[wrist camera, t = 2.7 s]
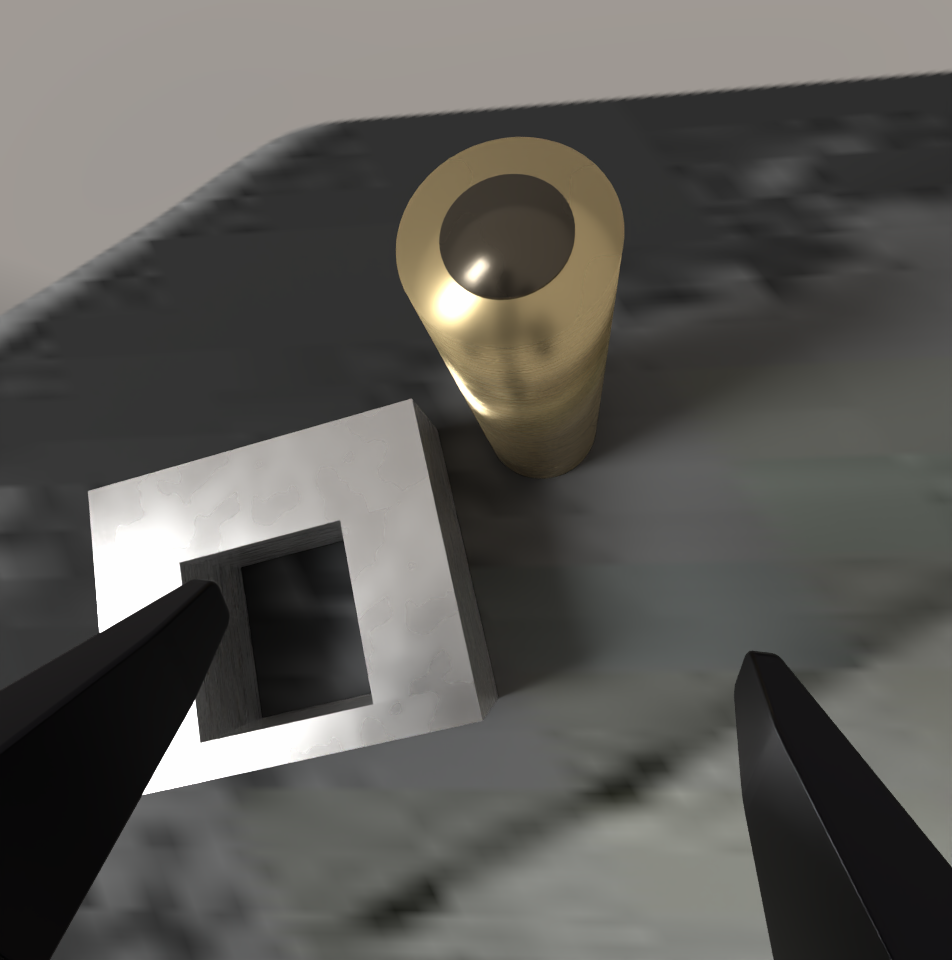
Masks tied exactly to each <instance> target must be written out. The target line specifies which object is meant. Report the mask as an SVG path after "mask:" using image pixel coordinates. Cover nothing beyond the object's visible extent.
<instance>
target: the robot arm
mask: <svg viewBox="0 0 952 960" xmlns="http://www.w3.org/2000/svg"><path fill="white" fill-rule="evenodd" d="M229 618H230V614H229V609H228V607H227V604H226V602H225V599H224V597H223V594H222V592H221V589H220V587H219V585H218V584H217V583H216V582H215V581H211V580H203V579H193V580H190V581H188V582H186V583H185V584H183V585H181V586H179V587H178V588H176V589H174V590H172V591H171V592H169V593H167V594H166V595H164V596H162V597H160V598H159V599H157V600H155V601H153V602H152V603H150V604H148V605H147V606H145V607H143V608H141V609H140V610H138V611H136V612H134V613H133V614H131V615H129V616H128V617H126V618H124V619H122V620H121V621H119V622H117V623H115V624H114V625H112V626H110V627H109V628H107V629H105V630H103V631H102V632H100V633H98V634H97V635H95V636H93V637H91V638H90V639H88V640H86V641H84V642H83V643H81V644H79V645H78V646H76V647H74V648H72V649H71V650H69V651H67V652H65V653H64V654H62V655H60V656H59V657H57V658H55V659H53V660H52V661H50V662H48V663H46V664H45V665H43V666H41V667H40V668H38V669H36V670H34V671H33V672H31V673H29V674H27V675H26V676H24V677H22V678H21V679H19V680H17V681H15V682H14V683H12V684H10V685H8V686H7V687H5V688H3V689H2V690H0V960H50V959H51V957H52V955H53V953H54V952H55V950H56V948H57V946H58V944H59V943H60V941H61V939H62V937H63V936H64V934H65V932H66V930H67V928H68V927H69V925H70V923H71V921H72V919H73V918H74V916H75V914H76V912H77V911H78V909H79V907H80V905H81V903H82V902H83V900H84V898H85V896H86V894H87V893H88V891H89V889H90V887H91V886H92V884H93V882H94V880H95V878H96V877H97V875H98V873H99V871H100V870H101V868H102V866H103V864H104V862H105V861H106V859H107V857H108V855H109V853H110V852H111V850H112V848H113V846H114V845H115V843H116V841H117V839H118V837H119V836H120V834H121V832H122V830H123V828H124V827H125V825H126V823H127V821H128V820H129V818H130V816H131V814H132V812H133V811H134V809H135V807H136V805H137V804H138V802H139V800H140V798H141V796H142V795H143V793H144V791H145V789H146V787H147V786H148V784H149V782H150V780H151V779H152V777H153V775H154V773H155V771H156V770H157V768H158V766H159V764H160V762H161V761H162V759H163V757H164V755H165V754H166V752H167V750H168V748H169V746H170V745H171V743H172V741H173V739H174V737H175V736H176V734H177V732H178V730H179V729H180V727H181V725H182V723H183V721H184V720H185V718H186V716H187V714H188V712H189V710H190V709H191V707H192V705H193V703H194V701H195V699H196V697H197V695H198V692H199V690H200V688H201V686H202V684H203V681H204V679H205V677H206V675H207V672H208V670H209V668H210V665H211V663H212V661H213V659H214V656H215V654H216V652H217V649H218V647H219V645H220V643H221V640H222V638H223V636H224V633H225V631H226V629H227V626H228V623H229ZM734 701H735V714H736V727H737V739H738V752H739V764H740V777H741V788H742V798H743V804H744V810H745V815H746V821H747V826H748V831H749V836H750V841H751V846H752V851H753V856H754V861H755V867H756V872H757V877H758V882H759V887H760V892H761V897H762V902H763V907H764V913H765V918H766V923H767V928H768V933H769V938H770V943H771V948H772V953H773V959H774V960H952V867H951V866H950V864H949V863H948V862H947V861H946V860H945V858H944V857H943V856H942V855H941V853H940V852H939V851H938V850H937V849H936V847H935V846H934V845H933V844H932V842H931V841H930V840H929V839H928V837H927V836H926V835H925V834H924V833H923V831H922V830H921V829H920V828H919V826H918V825H917V824H916V823H915V822H914V820H913V819H912V818H911V817H910V815H909V814H908V813H907V812H906V811H905V809H904V808H903V807H902V806H901V804H900V803H899V802H898V801H897V800H896V798H895V797H894V796H893V795H892V793H891V792H890V791H889V790H888V789H887V787H886V786H885V785H884V784H883V782H882V781H881V780H880V779H879V777H878V776H877V775H876V774H875V773H874V771H873V770H872V769H871V768H870V766H869V765H868V764H867V763H866V762H865V760H864V759H863V758H862V757H861V755H860V754H859V753H858V752H857V751H856V749H855V748H854V747H853V746H852V744H851V743H850V742H849V741H848V740H847V738H846V737H845V736H844V735H843V733H842V732H841V731H840V730H839V729H838V727H837V726H836V725H835V724H834V722H833V721H832V720H831V719H830V717H829V716H828V715H827V714H826V713H825V711H824V710H823V709H822V708H821V706H820V705H819V704H818V703H817V702H816V700H815V699H814V698H813V697H812V695H811V694H810V693H809V692H808V691H807V689H806V688H805V687H804V686H803V684H802V683H801V682H800V681H799V680H798V678H797V677H796V676H795V675H794V673H793V672H792V671H791V670H790V669H789V667H788V666H787V665H786V664H785V662H784V661H783V660H782V659H781V658H780V657H779V656H778V655H776V654H773V653H767V652H759V651H749V652H748V653H747V654H746V655H745V658H744V661H743V663H742V666H741V669H740V672H739V675H738V677H737V680H736V683H735V690H734Z"/></svg>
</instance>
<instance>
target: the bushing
mask: <svg viewBox="0 0 952 960" xmlns="http://www.w3.org/2000/svg"><path fill="white" fill-rule="evenodd" d="M623 242H624V220H623V214H622V209H621V205H620V202H619V199H618V196H617V194H616V192H615V190H614V188H613V186H612V184H611V183H610V182H609V180H608V179H607V177H606V176H605V174H604V173H603V172H602V171H601V170H600V169H599V168H598V167H597V166H596V165H595V164H594V163H593V162H592V161H590V160H589V159H588V158H587V157H585V156H584V155H582V154H581V153H579V152H577V151H575V150H574V149H572V148H570V147H567V146H565V145H562V144H560V143H557V142H553V141H550V140H546V139H539V138H533V137H512V138H502V139H497V140H492V141H488V142H485V143H481V144H478V145H475V146H473V147H471V148H468V149H466V150H464V151H462V152H460V153H458V154H457V155H455V156H453V157H451V158H450V159H448V160H447V161H446V162H444V163H443V164H441V165H440V166H439V167H437V168H436V169H435V170H434V171H433V172H432V173H431V174H430V175H429V176H428V177H427V178H426V179H425V180H424V181H423V183H422V184H421V185H420V186H419V187H418V189H417V190H416V192H415V193H414V195H413V196H412V198H411V199H410V201H409V203H408V205H407V207H406V209H405V211H404V214H403V216H402V219H401V222H400V225H399V230H398V234H397V242H396V260H397V267H398V272H399V277H400V279H401V282H402V285H403V288H404V290H405V292H406V293H407V295H408V297H409V299H410V301H411V302H412V304H413V306H414V308H415V310H416V311H417V313H418V315H419V317H420V319H421V320H422V322H423V324H424V326H425V328H426V329H427V331H428V333H429V335H430V337H431V338H432V340H433V342H434V344H435V346H436V347H437V349H438V351H439V353H440V354H441V356H442V358H443V360H444V362H445V363H446V365H447V367H448V369H449V371H450V372H451V374H452V376H453V378H454V380H455V381H456V383H457V385H458V387H459V389H460V390H461V392H462V394H463V396H464V398H465V399H466V401H467V403H468V405H469V406H470V408H471V410H472V412H473V414H474V415H475V417H476V419H477V421H478V423H479V424H480V426H481V428H482V430H483V432H484V433H485V435H486V437H487V439H488V441H489V442H490V444H491V446H492V448H493V449H494V451H495V453H496V455H497V456H498V458H499V459H500V460H501V461H502V462H503V463H504V464H505V465H506V466H507V467H508V468H510V469H511V470H513V471H514V472H516V473H518V474H520V475H523V476H526V477H530V478H539V479H545V478H552V477H556V476H559V475H562V474H565V473H567V472H568V471H570V470H572V469H573V468H575V467H576V466H577V465H578V464H579V463H581V462H582V461H583V459H584V458H585V457H586V456H587V454H588V453H589V451H590V449H591V447H592V445H593V442H594V439H595V435H596V428H597V421H598V414H599V407H600V400H601V393H602V387H603V380H604V373H605V366H606V359H607V352H608V345H609V338H610V332H611V325H612V318H613V311H614V304H615V297H616V290H617V283H618V276H619V270H620V263H621V256H622V249H623Z"/></svg>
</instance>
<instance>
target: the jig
mask: <svg viewBox="0 0 952 960" xmlns="http://www.w3.org/2000/svg"><path fill="white" fill-rule="evenodd" d="M88 495H89V508H90V520H91V533H92V545H93V557H94V570H95V582H96V594H97V607H98V619H99V632H102V631H103V630H105V629H107V628H109V627H110V626H112V625H114V624H115V623H117V622H119V621H121V620H122V619H124V618H126V617H128V616H129V615H131V614H133V613H134V612H136V611H138V610H140V609H141V608H143V607H145V606H147V605H148V604H150V603H152V602H153V601H155V600H157V599H159V598H160V597H162V596H164V595H166V594H167V593H169V592H171V591H172V590H174V589H176V588H178V587H179V586H181V585H183V584H185V583H186V582H188V581H190V580H193V579H203V580H211V581H215V582H216V583H217V584H218V585H219V587H220V589H221V592H222V594H223V597H224V599H225V602H226V604H227V607H228V609H229V614H230V618H229V623H228V626H227V629H226V631H225V633H224V636H223V638H222V640H221V643H220V645H219V647H218V649H217V652H216V654H215V656H214V659H213V661H212V663H211V665H210V668H209V670H208V672H207V675H206V677H205V679H204V681H203V684H202V686H201V688H200V690H199V692H198V695H197V697H196V699H195V701H194V703H193V705H192V707H191V709H190V710H189V712H188V714H187V716H186V718H185V720H184V721H183V723H182V725H181V727H180V729H179V730H178V732H177V734H176V736H175V737H174V739H173V741H172V743H171V745H170V746H169V748H168V750H167V752H166V754H165V755H164V757H163V759H162V761H161V762H160V764H159V766H158V768H157V770H156V771H155V773H154V775H153V777H152V779H151V780H150V782H149V784H148V786H147V787H146V789H145V791H144V793H143V794H148V793H153V792H157V791H162V790H166V789H171V788H176V787H180V786H185V785H190V784H194V783H199V782H203V781H208V780H213V779H217V778H222V777H226V776H231V775H236V774H240V773H245V772H250V771H254V770H259V769H263V768H268V767H273V766H277V765H282V764H286V763H291V762H296V761H300V760H305V759H310V758H314V757H319V756H323V755H328V754H333V753H337V752H342V751H346V750H351V749H356V748H360V747H365V746H370V745H374V744H379V743H383V742H388V741H393V740H397V739H402V738H406V737H411V736H416V735H420V734H425V733H430V732H434V731H439V730H443V729H448V728H453V727H457V726H462V725H466V724H471V723H476V722H480V721H483V720H484V718H485V717H486V715H487V714H488V713H489V711H490V710H491V708H492V707H493V705H494V704H495V703H496V701H497V700H498V693H497V689H496V684H495V680H494V676H493V671H492V667H491V662H490V658H489V654H488V649H487V645H486V641H485V636H484V632H483V627H482V623H481V619H480V614H479V610H478V605H477V601H476V597H475V592H474V588H473V583H472V579H471V575H470V570H469V566H468V561H467V557H466V553H465V548H464V544H463V539H462V535H461V531H460V526H459V522H458V517H457V513H456V509H455V504H454V500H453V495H452V491H451V487H450V482H449V478H448V474H447V469H446V465H445V460H444V456H443V452H442V447H441V443H440V438H439V434H438V430H437V428H436V427H435V426H434V425H433V423H432V422H431V421H430V420H429V419H428V417H427V416H426V415H425V414H424V413H423V411H422V410H421V409H420V408H419V407H418V405H417V404H416V403H415V402H414V401H413V399H409V400H406V401H402V402H399V403H395V404H392V405H388V406H385V407H381V408H378V409H374V410H371V411H367V412H364V413H360V414H357V415H353V416H350V417H346V418H343V419H339V420H336V421H332V422H329V423H325V424H322V425H318V426H315V427H311V428H308V429H304V430H301V431H297V432H294V433H290V434H287V435H283V436H280V437H276V438H273V439H269V440H266V441H262V442H259V443H255V444H252V445H248V446H245V447H241V448H238V449H234V450H231V451H227V452H224V453H220V454H217V455H213V456H210V457H206V458H203V459H199V460H196V461H192V462H189V463H185V464H182V465H178V466H175V467H171V468H168V469H164V470H161V471H157V472H154V473H150V474H147V475H143V476H140V477H136V478H133V479H129V480H126V481H122V482H119V483H115V484H112V485H108V486H105V487H101V488H98V489H94V490H91V491H88ZM340 541H344V544H345V550H346V555H347V561H348V566H349V572H350V578H351V583H352V589H353V594H354V600H355V605H356V611H357V616H358V622H359V627H360V633H361V639H362V644H363V650H364V655H365V661H366V666H367V672H368V677H369V683H370V688H371V693H370V694H365V695H361V696H357V697H352V698H348V699H344V700H339V701H335V702H330V703H326V704H322V705H317V706H313V707H308V708H304V709H300V710H295V711H291V712H286V713H282V714H278V715H273V716H269V717H264V718H262V713H261V706H260V699H259V691H258V684H257V677H256V670H255V663H254V655H253V648H252V641H251V634H250V626H249V619H248V612H247V605H246V598H245V590H244V583H243V576H242V569H241V567H244V566H248V565H251V564H255V563H259V562H263V561H267V560H271V559H275V558H278V557H282V556H286V555H290V554H294V553H298V552H301V551H305V550H309V549H313V548H317V547H321V546H324V545H328V544H332V543H336V542H340Z"/></svg>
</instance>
